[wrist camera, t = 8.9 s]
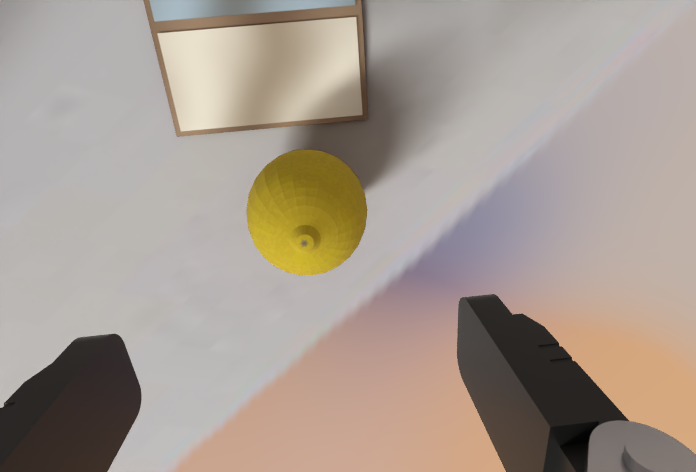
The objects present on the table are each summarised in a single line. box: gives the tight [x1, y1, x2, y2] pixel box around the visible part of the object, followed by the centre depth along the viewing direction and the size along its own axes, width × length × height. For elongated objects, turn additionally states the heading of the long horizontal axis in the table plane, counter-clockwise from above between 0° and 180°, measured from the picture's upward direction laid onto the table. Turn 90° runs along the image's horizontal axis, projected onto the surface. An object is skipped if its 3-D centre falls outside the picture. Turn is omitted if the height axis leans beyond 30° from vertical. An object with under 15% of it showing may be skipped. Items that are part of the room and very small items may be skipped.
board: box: [144, 0, 368, 137], centre depth 18 cm, size 10×10×1 cm
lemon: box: [247, 149, 367, 275], centre depth 18 cm, size 6×6×8 cm
